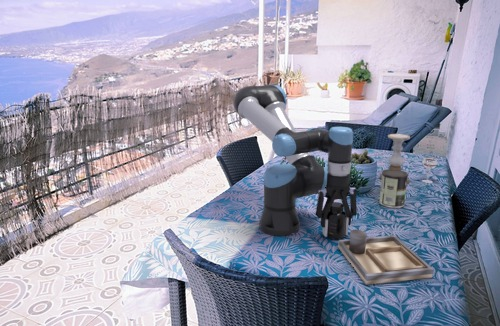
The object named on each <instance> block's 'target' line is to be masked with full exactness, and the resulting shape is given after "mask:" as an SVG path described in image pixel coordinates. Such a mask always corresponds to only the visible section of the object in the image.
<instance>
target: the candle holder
mask: <svg viewBox="0 0 500 326" xmlns="http://www.w3.org/2000/svg"><path fill="white" fill-rule="evenodd" d="M387 137H388V139H391V140H392V141H393V142H394V144H393V146H392V147H391V149H392V151H393V152H392V155H391V156H390V157H389V158H388V161H387V162H388V164H389V166H388V170H389V169H393V170H401V171H403V168H402V166H403V165H404V163H405V160H404V158H403V156H402V151H403V150H404V147H403V143H404V142H405V140H410V139H411V135H409V134H402V133H390V134H388V135H387ZM379 179H380V180H382V173H381V174H379ZM409 184H410V180H409V179H408V178H407V185H409Z"/></svg>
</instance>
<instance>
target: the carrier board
mask: <svg viewBox="0 0 500 326" xmlns="http://www.w3.org/2000/svg"><path fill="white" fill-rule="evenodd" d="M337 245H338V246H337V247H338V250H340V253H342V255H343V256H344V257H345V259H346V260H347V261H348V263H349V264H350V263H351V264H350V265H351V266H352V268H353V267H354V268H353V269H354V271H355V272H356V273H357V274H358V276H359V278H360V279H361V280H362V282H364V284H365V285H375V284H377V285H378V284H386V283H393V282H394V283H395V282H404V281H413V280H422V279H423V280H424V279H431V278H433V277H434V269H435V268H433V267H432V266H431V265H429V263H427V262H426V261H425V260H424V259H423V258H421V257H420V256H419V254H417V253H416V252H414V251H413V249H411V248H410V247H409V246H408V245H407V244H405V243H404V242H403V240H401V239H400V238H398V236H397V235H394V234H393V235H383V236H370V237H367V232H366V231H365V230H362V229H353V230H350V233H349V239H338V244H337Z"/></svg>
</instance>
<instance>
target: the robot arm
mask: <svg viewBox="0 0 500 326" xmlns="http://www.w3.org/2000/svg"><path fill="white" fill-rule="evenodd" d="M232 104H233V108H234V111H235V113H237V114H238V116H239V117H240V118H242V119H246V120H248V122H249V123H251V124H252V125H253V126H254V127H256V128H257V130H259V132H261V133H262V134H263V135H264V136H265V137H266V138H268V140H270V141H271V143H272V150H273V151H274V154H275V155H276V156H277V157H284V156H286V158H287V159H286V161H287V162H289V163H288V164H286V163H282V164H280V163H279V164H274V165H272V166H270V167H268V168H267V169H266V170H265V171H264V174H263V210H262V212H261V216H260V219H259V228H260V230H261V231H262V232H263V233H265V234H268V235H271V236H276V237H277V236H278V237H284V236H292V235H294V234H296V233H297V232H298V231H299V230H300V227H301V226H300V224H301V223H300V218H299V216H298V215H299V214H298V212H297V209H296V202H297V201H296V199H300V198H304V197H305V198H306V197H308V196H312V195H317V196H318V197H317V203H316V209H315V216H316V217H317V219H320V223H319V225H320V227H321V228H322V235H323V236H324V237H325V238H326V237H327V231H328V219H327V218H326V217H327V215H328V213H329V210H330V208H331V206H332V203H333V202H335V200H341V201H340V202H341V203H342V204H343V208H344V210H343V211H344V212H345V214H346V224H345V236H348V234H349V233H348V232H349V226H351V224H352V223H351V221H352V220H353V216H357V214H358V209H357V194H358V191H359V190H358V189H357V188H356V187H355V186H353V187H350V182H351V174H350V173H351V165H352V154H353V153H352V152H353V151H352V150H353V143H354V140H353V138H354V136H353V135H354V134H353V133H354V132H353V129H352V128H350V127H347V126H332V127H331V128H330V129H329V130H327V129H323V128H320V127H310V128H308V129H307V130H304V131H296V128H295V127H294V125H293V124H292V123H293V122H291V119H290V118H289V115H288V114H287V113H286V109H287V104H288V99H287V94H286V92H285V90H284V89H283V87H281V86H279V85H277V84H276V85H275V84H267V85H247V86H243V87H242V88H240V89H239V90H238V91H237V92H236V93H235V95H234V98H233V103H232ZM312 152H314V153H315V152H322V153H327V155H328V156H327V164H326V163H325V167H322V166H321V165H319V163H318V159H316V156H315V155H313V154H310V153H312ZM326 185H327V186H326ZM325 187H326V188H325ZM326 194H327V197H326ZM348 194H349V201H350V202H348V198H347V195H348ZM325 197H326V201H324V200H325ZM324 202H325V203H324ZM349 204H350V205H349ZM327 238H328V237H327Z"/></svg>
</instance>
